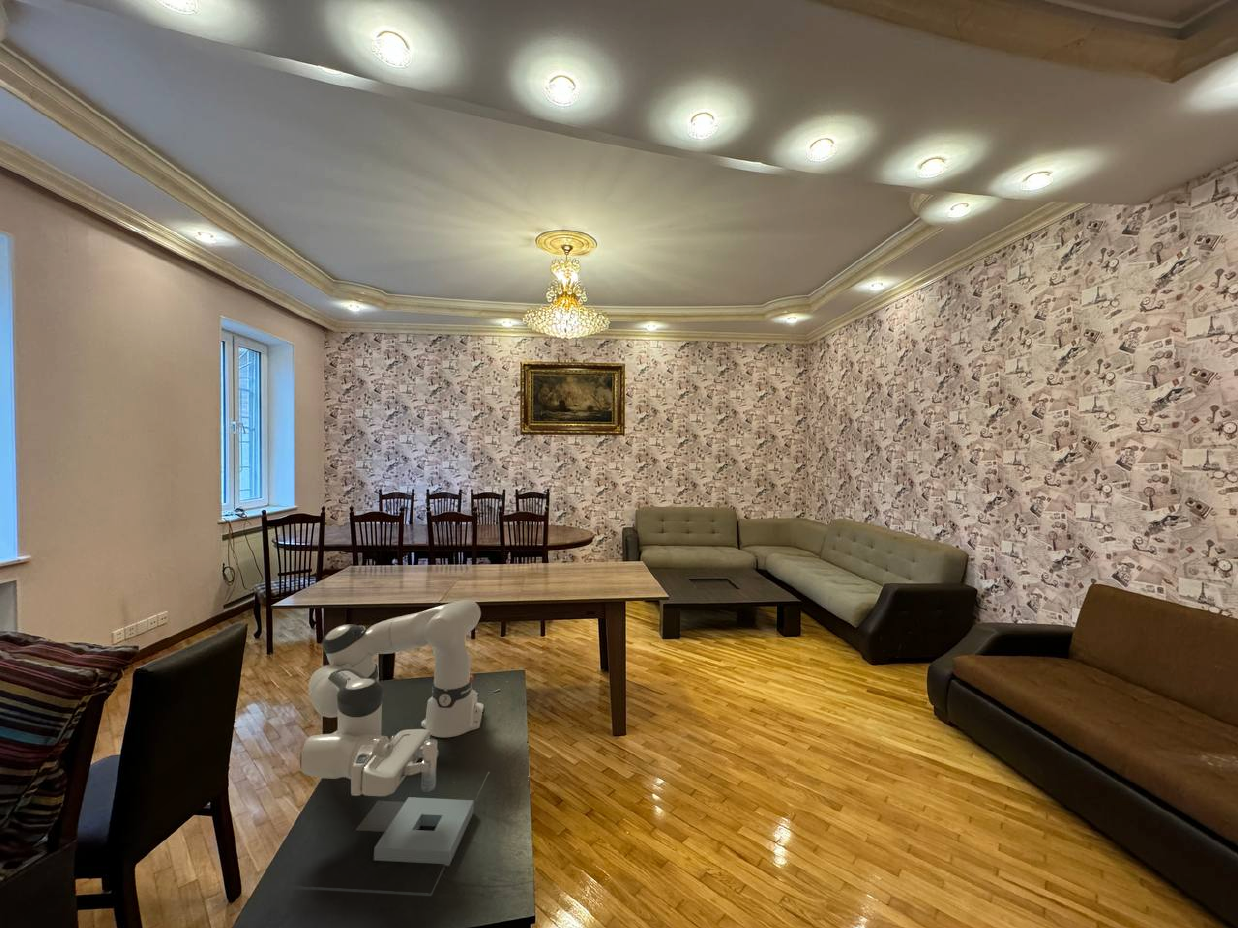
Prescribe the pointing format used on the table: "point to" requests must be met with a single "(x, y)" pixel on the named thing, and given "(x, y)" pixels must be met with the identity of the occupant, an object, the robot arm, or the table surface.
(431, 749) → the steel pin
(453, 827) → the grey square hole board
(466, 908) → the table surface
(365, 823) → the rubber mat
